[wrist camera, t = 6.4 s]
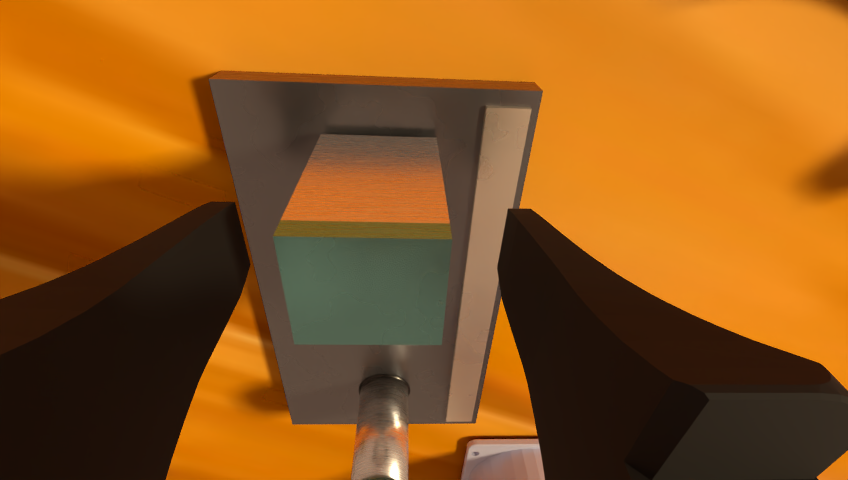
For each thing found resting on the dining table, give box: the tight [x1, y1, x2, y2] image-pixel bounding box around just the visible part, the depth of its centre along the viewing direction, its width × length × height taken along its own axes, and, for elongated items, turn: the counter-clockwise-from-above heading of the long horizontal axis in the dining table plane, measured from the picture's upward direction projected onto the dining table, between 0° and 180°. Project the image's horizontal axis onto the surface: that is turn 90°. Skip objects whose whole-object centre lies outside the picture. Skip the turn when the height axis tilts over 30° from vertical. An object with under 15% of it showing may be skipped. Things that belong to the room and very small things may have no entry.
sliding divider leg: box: [273, 134, 452, 345], centre depth 12 cm, size 3×4×6 cm
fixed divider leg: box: [351, 376, 408, 480], centre depth 19 cm, size 3×3×6 cm
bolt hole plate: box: [209, 71, 543, 424], centre depth 18 cm, size 18×10×1 cm, turn 178°
